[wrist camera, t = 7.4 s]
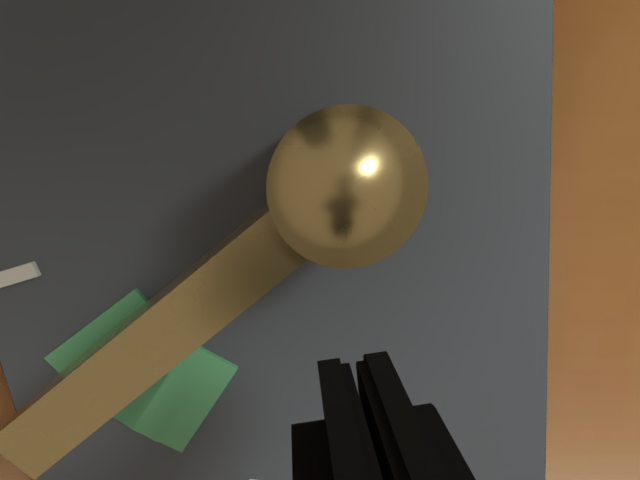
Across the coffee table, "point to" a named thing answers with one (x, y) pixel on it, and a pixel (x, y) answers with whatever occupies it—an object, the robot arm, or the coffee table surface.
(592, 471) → the coffee table surface
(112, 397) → the needle
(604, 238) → the coffee table surface
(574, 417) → the coffee table surface
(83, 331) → the dial plate
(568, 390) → the coffee table surface
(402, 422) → the robot arm
